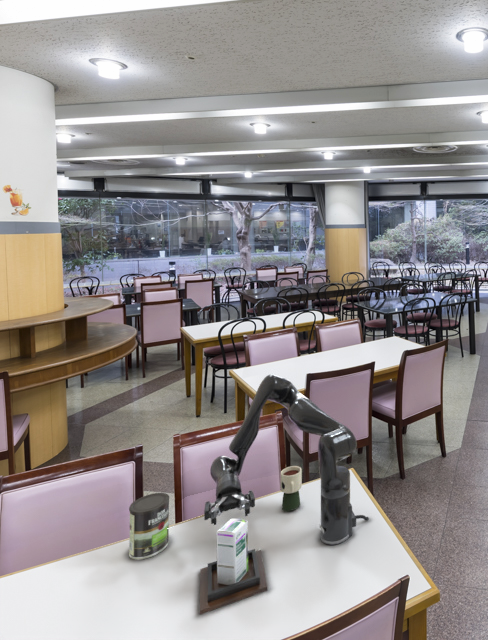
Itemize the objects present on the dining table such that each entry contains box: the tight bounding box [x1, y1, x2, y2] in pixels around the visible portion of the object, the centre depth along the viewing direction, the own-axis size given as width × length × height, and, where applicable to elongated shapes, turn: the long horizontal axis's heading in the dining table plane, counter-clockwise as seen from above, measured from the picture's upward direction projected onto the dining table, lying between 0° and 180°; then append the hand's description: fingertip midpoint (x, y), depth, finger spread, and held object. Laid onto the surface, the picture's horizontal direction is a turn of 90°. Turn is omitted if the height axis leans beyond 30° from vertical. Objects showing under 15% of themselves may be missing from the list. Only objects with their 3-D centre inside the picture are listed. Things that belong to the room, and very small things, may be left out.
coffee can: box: [128, 492, 170, 561], centre depth 133 cm, size 10×10×14 cm
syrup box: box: [216, 518, 249, 585], centre depth 119 cm, size 6×6×14 cm
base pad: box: [199, 548, 268, 615], centre depth 119 cm, size 16×16×3 cm
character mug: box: [280, 465, 303, 512], centre depth 153 cm, size 11×7×13 cm, turn 22°
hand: (231, 517), depth 129 cm, fingers open, 8 cm apart
